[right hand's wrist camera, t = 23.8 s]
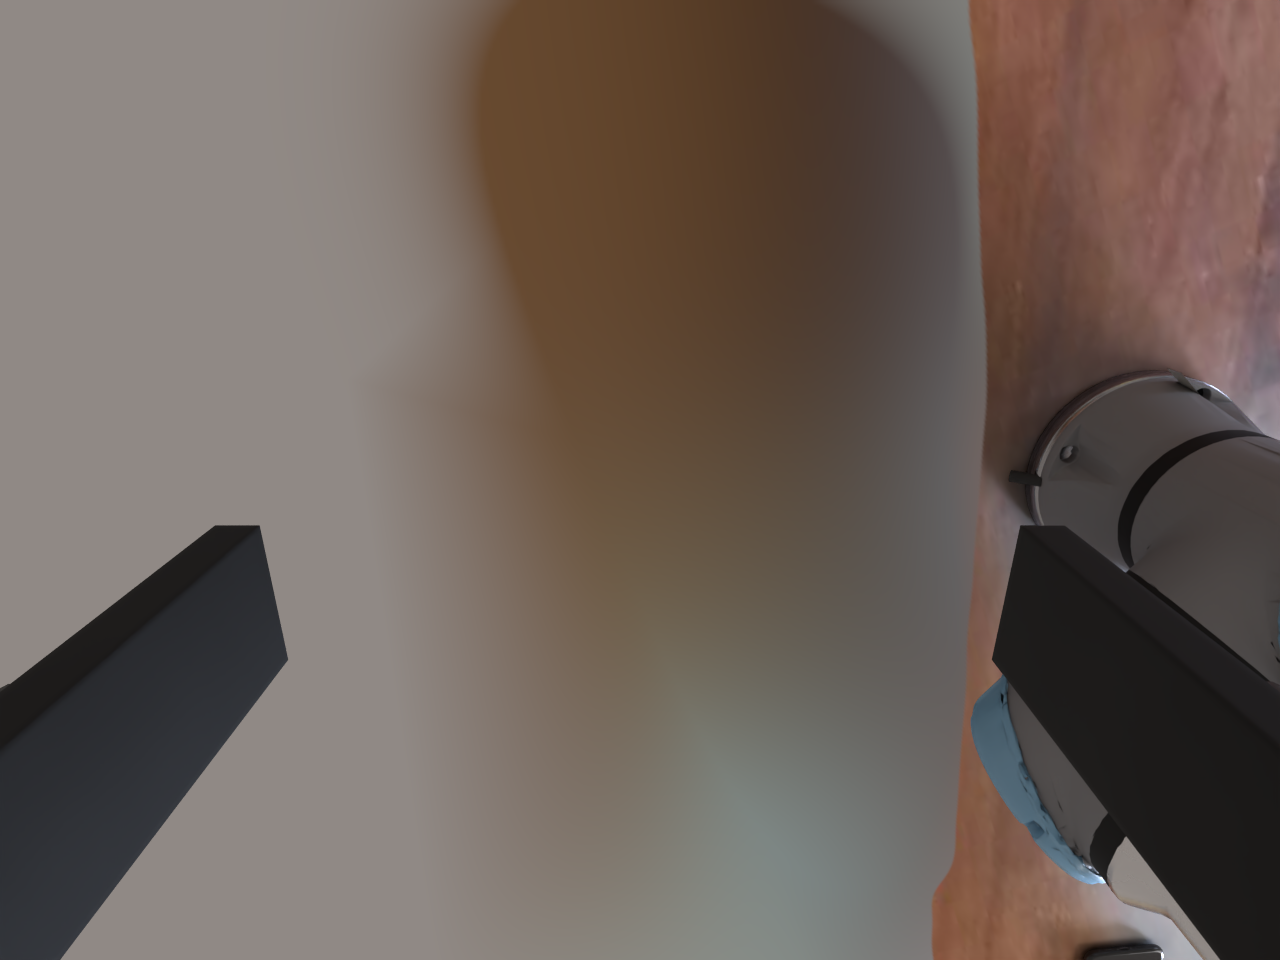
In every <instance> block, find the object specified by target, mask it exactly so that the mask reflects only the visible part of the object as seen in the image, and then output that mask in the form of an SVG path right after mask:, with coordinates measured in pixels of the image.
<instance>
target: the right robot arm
mask: <svg viewBox="0 0 1280 960" xmlns="http://www.w3.org/2000/svg"><path fill="white" fill-rule="evenodd" d="M1167 369H1168V368H1167ZM1168 370H1169V371H1170V372H1167V371H1140V372H1133V373H1128V374H1124V375H1120V376H1117V377H1114V378H1111V379H1109V380H1106V381H1104V382H1102V383H1099V384H1097V385H1095V386H1093V387H1092V388H1090V389H1088V390H1087V391H1085V392H1083V393H1082V394H1080V395H1079V396H1078V397H1076V398H1075V399H1074V400H1072V401H1071V402H1070V403H1069V404H1067V405H1066V406H1065V407H1064V408H1063V409H1062V410H1061V411H1060V412H1059V413H1058V414H1057V415H1056V416H1055V417H1054V419H1053V420H1052V421H1051V422H1050V423H1049V425H1048V426H1047V428H1046V429H1045V430H1044V432H1043V433H1042V435H1041V437H1040V438H1039V440H1038V442H1037V444H1036V446H1035V448H1034V450H1033V453H1032V456H1031V458H1030V462H1029V465H1028V470H1027V473H1025V472H1019V471H1012V470H1011V472H1010V476H1009V481H1010V482H1016V483H1022V484H1026V497H1027V503H1028V507H1029V510H1030V513H1031V515H1032V518H1033V519H1034V521H1035V523H1036V525H1037V526H1020V530H1019V535H1018V539H1017V544H1016V549H1015V554H1014V558H1013V563H1012V568H1011V572H1010V577H1009V582H1008V586H1007V591H1006V596H1005V601H1004V605H1003V610H1002V615H1001V619H1000V624H999V629H998V633H997V638H996V643H995V647H994V652H993V657H992V660H993V662H994V663H995V664H996V666H997V667H998V668H999V670H1000V671H1001V672H1002V674H1003V675H1002V677H1001V678H1000V679H999V680H998V681H997V682H996V683H995V684H993V685H992V686H991V687H990V688H989V689H988V690H987V691H986V692H985V693H984V694H983V695H982V696H981V697H980V698H979V699H978V700H977V702H976V703H975V705H974V709H973V715H972V717H971V730H972V736H973V740H974V743H975V746H976V749H977V752H978V754H979V757H980V759H981V761H982V763H983V765H984V767H985V769H986V771H987V773H988V775H989V777H990V779H991V780H992V782H993V784H994V786H995V787H996V789H997V791H998V792H999V794H1000V795H1001V797H1002V799H1003V800H1004V802H1005V803H1006V805H1007V806H1008V808H1009V809H1010V811H1011V812H1012V813H1013V815H1014V816H1015V817H1016V819H1017V820H1018V821H1019V822H1020V823H1023V824H1024V825H1025V826H1027V827H1028V830H1029V832H1030V833H1031V835H1032V837H1033V839H1034V841H1035V842H1036V843H1037V844H1038V846H1039V847H1040V848H1041V849H1042V850H1043V851H1044V852H1045V854H1046V855H1047V856H1048V857H1049V858H1050V859H1051V860H1052V861H1053V862H1054V863H1056V864H1057V865H1058V866H1059V867H1060V868H1061V869H1062V870H1064V871H1065V872H1066V873H1067V874H1069V875H1070V876H1072V877H1074V878H1075V879H1077V880H1080V881H1082V882H1085V883H1088V884H1095V883H1107V885H1108V886H1109V887H1110V889H1111V891H1112V892H1113V893H1114V894H1115V895H1116V897H1117V898H1118V899H1119V900H1121V901H1122V902H1123V903H1125V904H1127V905H1130V906H1133V907H1136V908H1140V909H1143V910H1147V911H1150V912H1154V913H1157V914H1161V915H1164V916H1166V917H1168V918H1169V919H1171V920H1172V921H1173V922H1174V923H1175V925H1176V926H1177V927H1178V928H1179V930H1180V931H1181V932H1182V934H1183V935H1184V936H1185V937H1186V939H1187V940H1188V941H1189V942H1190V944H1191V945H1192V946H1193V947H1194V949H1195V950H1196V951H1197V952H1198V954H1199V955H1200V956H1201V957H1202V959H1203V960H1280V441H1279V440H1276V439H1274V438H1271V437H1269V436H1266V435H1265V434H1264V433H1263V432H1262V431H1261V430H1260V429H1259V428H1258V427H1257V426H1256V425H1255V424H1254V423H1253V422H1252V421H1251V420H1250V419H1249V418H1248V417H1247V416H1246V415H1245V414H1244V413H1243V412H1242V411H1241V410H1240V409H1239V408H1238V407H1237V406H1236V405H1235V404H1234V403H1233V402H1232V401H1231V400H1230V399H1229V398H1228V397H1227V396H1226V395H1225V394H1224V393H1222V392H1221V391H1220V390H1218V389H1217V388H1215V387H1213V386H1211V385H1209V384H1207V383H1205V382H1202V381H1199V380H1196V379H1193V378H1190V377H1187V376H1184V375H1183V374H1182V373H1180V372H1177V371H1174V370H1171V369H1168ZM287 660H288V657H287V652H286V647H285V643H284V638H283V633H282V629H281V624H280V619H279V615H278V610H277V605H276V601H275V596H274V591H273V587H272V582H271V577H270V572H269V568H268V563H267V558H266V554H265V549H264V544H263V540H262V535H261V530H260V526H214V527H213V528H211V529H210V530H209V531H207V532H206V533H205V534H204V535H202V536H201V537H200V538H198V539H197V540H196V541H195V542H193V543H192V544H191V545H189V546H188V547H187V548H185V549H184V550H183V551H182V552H180V553H179V554H178V555H176V556H175V557H174V558H173V559H171V560H170V561H169V562H167V563H166V564H165V565H163V566H162V567H161V568H160V569H158V570H157V571H156V572H154V573H153V574H152V575H151V576H149V577H148V578H147V579H145V580H144V581H143V582H142V583H140V584H139V585H138V586H136V587H135V588H134V589H132V590H131V591H130V592H129V593H127V594H126V595H125V596H123V597H122V598H121V599H120V600H118V601H117V602H116V603H114V604H113V605H112V606H111V607H109V608H108V609H107V610H105V611H104V612H103V613H102V614H100V615H99V616H98V617H96V618H95V619H94V620H92V621H91V622H90V623H89V624H87V625H86V626H85V627H83V628H82V629H81V630H80V631H78V632H77V633H76V634H74V635H73V636H72V637H70V638H69V639H68V640H67V641H65V642H64V643H63V644H61V645H60V646H59V647H58V648H56V649H55V650H54V651H52V652H51V653H50V654H49V655H47V656H46V657H45V658H43V659H42V660H41V661H39V662H38V663H37V664H36V665H34V666H33V667H32V668H30V669H29V670H28V671H27V672H25V673H24V674H23V675H21V676H20V677H19V678H17V679H16V680H15V681H14V682H12V683H11V684H7V685H6V686H4V687H2V688H0V960H60V959H61V958H62V957H63V955H64V954H65V953H66V951H67V950H68V949H69V947H70V946H71V945H72V943H73V942H74V941H75V939H76V938H77V937H78V935H79V934H80V933H81V932H82V930H83V929H84V928H85V926H86V925H87V924H88V922H89V921H90V920H91V918H92V917H93V916H94V914H95V913H96V912H97V910H98V909H99V908H100V907H101V905H102V904H103V903H104V901H105V900H106V899H107V897H108V896H109V895H110V893H111V892H112V891H113V889H114V888H115V887H116V885H117V884H118V883H119V882H120V880H121V879H122V878H123V876H124V875H125V874H126V872H127V871H128V870H129V868H130V867H131V866H132V864H133V863H134V862H135V860H136V859H137V858H138V857H139V855H140V854H141V853H142V851H143V850H144V849H145V847H146V846H147V845H148V843H149V842H150V841H151V839H152V838H153V837H154V835H155V834H156V833H157V832H158V830H159V829H160V828H161V826H162V825H163V824H164V822H165V821H166V820H167V818H168V817H169V816H170V814H171V813H172V812H173V810H174V809H175V808H176V807H177V805H178V804H179V803H180V801H181V800H182V799H183V797H184V796H185V795H186V793H187V792H188V791H189V789H190V788H191V787H192V785H193V784H194V783H195V782H196V780H197V779H198V778H199V776H200V775H201V774H202V772H203V771H204V770H205V768H206V767H207V766H208V764H209V763H210V762H211V760H212V759H213V758H214V757H215V755H216V754H217V752H218V751H219V750H220V749H221V747H222V746H223V745H224V743H225V742H226V741H227V739H228V738H229V737H230V735H231V734H232V733H233V732H234V730H235V729H236V728H237V726H238V725H239V724H240V722H241V721H242V720H243V718H244V717H245V716H246V714H247V713H248V712H249V710H250V709H251V708H252V707H253V705H254V704H255V703H256V701H257V700H258V699H259V697H260V696H261V695H262V693H263V692H264V691H265V689H266V688H267V687H268V685H269V684H270V683H271V682H272V680H273V679H274V677H275V676H276V675H277V674H278V672H279V671H280V670H281V668H282V667H283V666H284V664H285V663H286V662H287Z"/></svg>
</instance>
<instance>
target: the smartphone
mask: <svg viewBox="0 0 1280 960" xmlns="http://www.w3.org/2000/svg"><path fill="white" fill-rule="evenodd" d="M1084 960H1163V951H1162V949H1161V948H1160V947H1159V946H1158V945H1155V944H1146V945H1135V946H1125V947H1115V948H1105V949H1095V950H1091V951H1088V952H1087V953H1086V954H1085V956H1084Z"/></svg>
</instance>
